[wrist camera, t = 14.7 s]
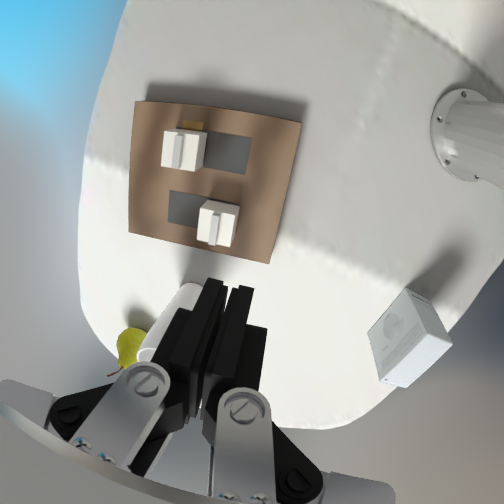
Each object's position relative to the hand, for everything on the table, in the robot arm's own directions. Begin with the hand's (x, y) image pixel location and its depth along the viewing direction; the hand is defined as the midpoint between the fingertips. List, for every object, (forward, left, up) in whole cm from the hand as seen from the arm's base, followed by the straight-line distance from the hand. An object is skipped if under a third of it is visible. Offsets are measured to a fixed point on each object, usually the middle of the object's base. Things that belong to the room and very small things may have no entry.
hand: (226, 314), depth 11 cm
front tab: (+10, -1, -24) cm, 26 cm away
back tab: (+5, +7, -24) cm, 26 cm away
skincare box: (-25, +18, -27) cm, 41 cm away
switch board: (+8, +3, -27) cm, 28 cm away
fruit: (+18, +35, -27) cm, 48 cm away
